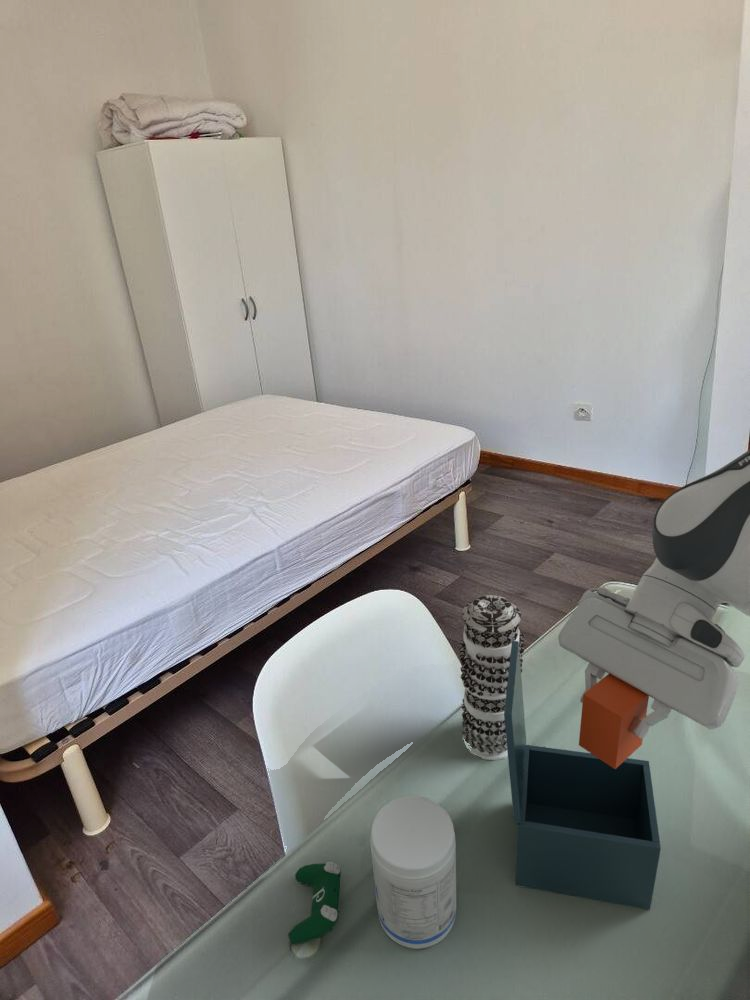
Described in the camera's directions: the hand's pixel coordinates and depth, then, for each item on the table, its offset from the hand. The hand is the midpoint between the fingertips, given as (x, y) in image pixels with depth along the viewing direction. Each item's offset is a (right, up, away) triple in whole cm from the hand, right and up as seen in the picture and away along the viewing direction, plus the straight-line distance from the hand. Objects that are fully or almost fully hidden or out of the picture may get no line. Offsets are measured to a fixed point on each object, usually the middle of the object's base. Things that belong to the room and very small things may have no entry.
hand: (610, 720), depth 80 cm
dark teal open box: (-1, -20, +8) cm, 21 cm away
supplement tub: (-22, -24, +3) cm, 33 cm away
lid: (-10, -2, +2) cm, 11 cm away
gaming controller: (-34, -24, +4) cm, 42 cm away
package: (+1, -4, +2) cm, 4 cm away
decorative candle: (-10, -12, +26) cm, 30 cm away
